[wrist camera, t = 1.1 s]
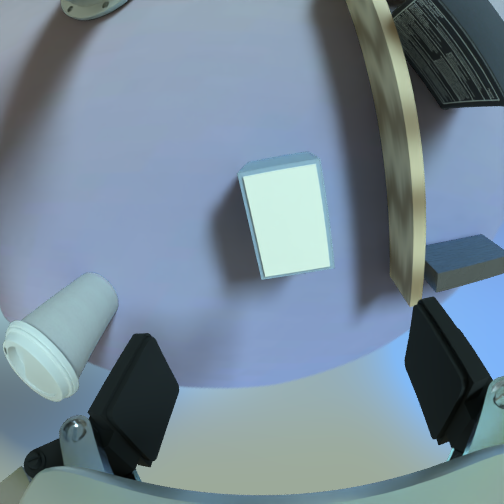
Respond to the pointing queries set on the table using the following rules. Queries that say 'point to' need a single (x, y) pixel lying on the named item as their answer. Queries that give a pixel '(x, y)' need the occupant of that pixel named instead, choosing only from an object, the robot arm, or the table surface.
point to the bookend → (462, 262)
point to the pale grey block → (287, 214)
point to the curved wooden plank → (396, 143)
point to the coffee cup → (61, 336)
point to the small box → (455, 49)
